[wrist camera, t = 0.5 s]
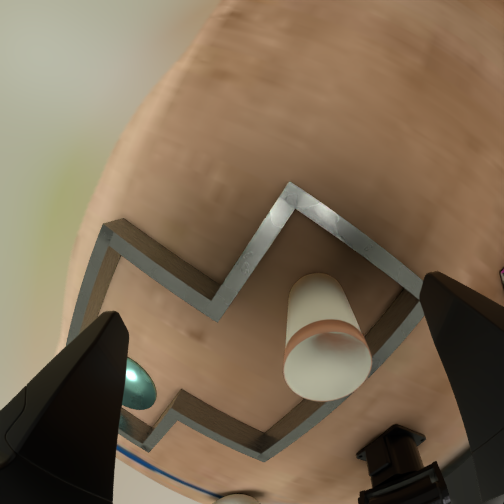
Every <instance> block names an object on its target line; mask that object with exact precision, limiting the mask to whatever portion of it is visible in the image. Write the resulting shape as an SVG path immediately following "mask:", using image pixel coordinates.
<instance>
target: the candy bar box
mask: <svg viewBox="0 0 504 504" xmlns="http://www.w3.org/2000/svg"><path fill="white" fill-rule="evenodd" d="M500 274H501V279H502V283H503V286H504V269H503V270H502V271H501V273H500Z"/></svg>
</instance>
